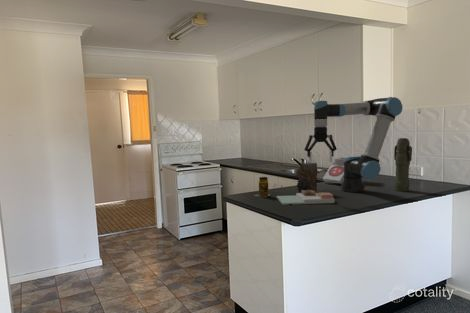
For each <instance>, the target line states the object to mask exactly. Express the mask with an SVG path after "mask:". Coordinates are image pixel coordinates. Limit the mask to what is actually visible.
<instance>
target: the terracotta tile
mask: <svg viewBox="0 0 470 313" xmlns="http://www.w3.org/2000/svg"><path fill="white" fill-rule="evenodd" d="M317 193H318V197H320V198H321V199H329V198H334V195H333V194H332V193H330V192H324V193H322V192H317Z"/></svg>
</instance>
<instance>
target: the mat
mask: <svg viewBox="0 0 470 313" xmlns="http://www.w3.org/2000/svg"><path fill="white" fill-rule="evenodd" d="M276 199H277V200H278V201H279V202H280V203H281V204H282V205H283V206H288V205H289V204H292V205H305V204H304V202H303V201H301V200H300V199H299V198H298V197H297V196H296V194H295V195H276Z"/></svg>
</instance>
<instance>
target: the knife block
mask: <svg viewBox="0 0 470 313" xmlns="http://www.w3.org/2000/svg"><path fill="white" fill-rule="evenodd" d="M297 176H298V178H299V179H298V180H297V184H296V187H297V191H298V193H301V190H313V191H315V192H316V193H317V190H318V187H317V186H318V182H317V181H318V180H317V176H318V165H317V162H311V163H310V162H309V161H308V162H299V168H298V170H297Z"/></svg>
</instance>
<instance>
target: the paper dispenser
mask: <svg viewBox="0 0 470 313" xmlns="http://www.w3.org/2000/svg"><path fill="white" fill-rule="evenodd" d="M344 159H345V156H343V157H342V156H339V157H337V158H335V159H334V162H333V161H332V164H330V166H329V168H328V170H327V171H326V173H325V174H324V176H323V177H322V179H323V181H324V182H326V183H328V182H329V183H333V184H340V185H342V182H343V180H344Z"/></svg>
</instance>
